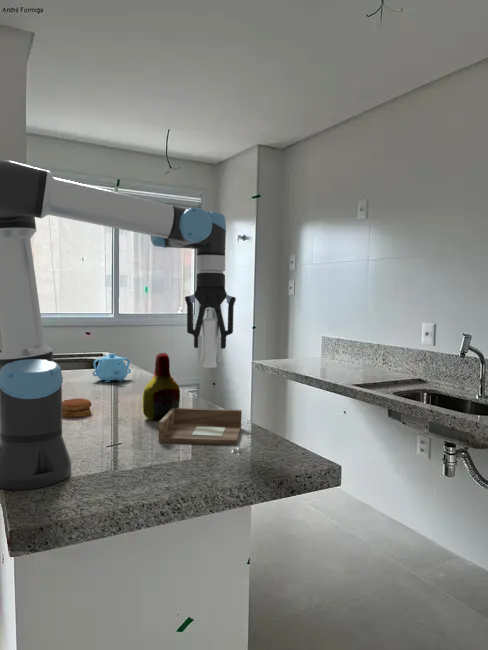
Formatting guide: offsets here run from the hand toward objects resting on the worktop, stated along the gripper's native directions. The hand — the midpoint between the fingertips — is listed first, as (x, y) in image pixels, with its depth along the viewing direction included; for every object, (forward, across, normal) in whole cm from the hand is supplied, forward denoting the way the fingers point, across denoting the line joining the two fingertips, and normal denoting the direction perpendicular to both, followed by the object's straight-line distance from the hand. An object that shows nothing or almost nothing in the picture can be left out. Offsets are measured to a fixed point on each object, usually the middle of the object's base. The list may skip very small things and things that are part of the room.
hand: (209, 360), depth 131 cm
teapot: (+21, +53, -77) cm, 96 cm away
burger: (+21, +45, -19) cm, 53 cm away
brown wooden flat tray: (+20, +2, -1) cm, 21 cm away
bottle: (+21, +17, -17) cm, 32 cm away
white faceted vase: (+2, 0, 0) cm, 2 cm away
